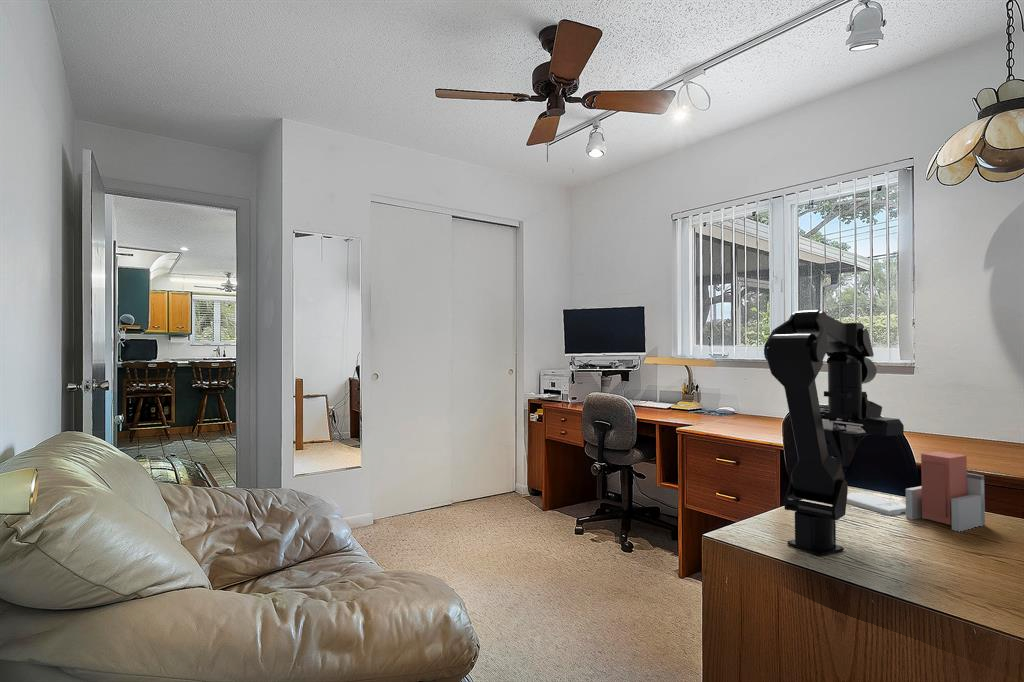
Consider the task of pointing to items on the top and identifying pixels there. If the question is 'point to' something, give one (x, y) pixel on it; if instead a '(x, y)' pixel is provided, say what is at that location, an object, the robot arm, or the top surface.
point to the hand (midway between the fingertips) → (845, 465)
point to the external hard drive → (876, 503)
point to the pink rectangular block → (942, 484)
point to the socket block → (955, 504)
